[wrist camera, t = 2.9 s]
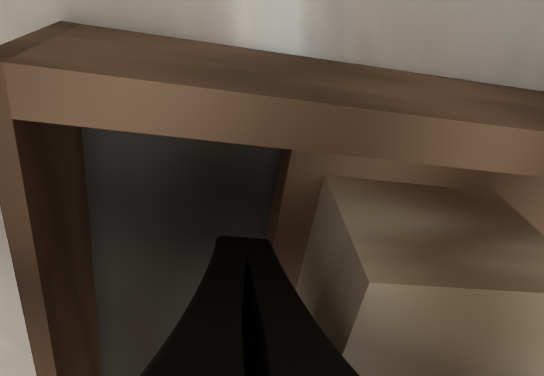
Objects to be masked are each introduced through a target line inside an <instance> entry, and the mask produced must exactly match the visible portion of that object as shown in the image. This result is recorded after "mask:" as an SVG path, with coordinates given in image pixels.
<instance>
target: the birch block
mask: <svg viewBox="0 0 544 376" xmlns="http://www.w3.org/2000/svg"><path fill="white" fill-rule="evenodd" d="M296 291H297V293H298V295H299V296H300V298H301V300H302V301H303V303H304V304H305V306H306V307H307V309H308V310H309V312H310V313H311V315H312V316H313V318H314V319H315V320H316V322H317V323H318V325H319V326H320V328H321V329H322V330H323V332H324V333H325V334H326V336H327V337H328V338H329V340H330V341H331V342H332V343H333V345H334V346H335V347H336V348H337V350H338V351H339V352H340V353H341V355H342V356H343V357H344V358H345V359H346V361H347V362H348V363H349V364H350V365H351V366H352V367H353V369H354V370H355V371H356V372H357V373H358V374H359V375H360V376H544V235H542V234H541V233H540V232H539V231H538V230H537V229H536V228H535V227H534V226H533V225H532V224H530V223H529V222H528V221H527V220H526V219H525V218H524V217H523V216H522V215H521V214H519V213H518V212H517V211H516V210H515V209H514V208H513V207H512V206H511V205H510V204H509V203H507V202H506V201H505V200H504V199H503V198H502V197H501V196H500V195H499V194H498V193H496V192H491V191H481V190H471V189H461V188H451V187H441V186H431V185H421V184H411V183H402V182H392V181H382V180H372V179H362V178H352V177H342V176H332V175H325V176H324V180H323V184H322V188H321V192H320V196H319V200H318V204H317V208H316V212H315V216H314V220H313V224H312V228H311V232H310V236H309V240H308V244H307V248H306V252H305V256H304V260H303V263H302V267H301V271H300V275H299V279H298V283H297V287H296Z"/></svg>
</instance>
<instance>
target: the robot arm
mask: <svg viewBox="0 0 544 376" xmlns="http://www.w3.org/2000/svg"><path fill="white" fill-rule="evenodd" d="M140 376H360V375H359V374H358V373H357V372H356V371H355V370H354V369H353V367H352V366H351V365H350V364H349V363H348V362H347V361H346V359H345V358H344V357H343V356H342V355H341V353H340V352H339V351H338V350H337V348H336V347H335V346H334V345H333V343H332V342H331V341H330V340H329V338H328V337H327V336H326V334H325V333H324V332H323V330H322V329H321V328H320V326H319V325H318V323H317V322H316V320H315V319H314V318H313V316H312V315H311V313H310V312H309V310H308V309H307V307H306V306H305V304H304V303H303V301H302V300H301V298H300V296H299V295H298V293H297V291H296V290H295V288H294V287H293V285H292V283H291V282H290V280H289V278H288V276H287V275H286V273H285V271H284V269H283V267H282V265H281V263H280V262H279V260H278V258H277V256H276V254H275V251H274V249H273V247H272V245H271V243H270V242H269V240H268V239H260V238H247V237H234V236H219V237H218V238H216V242H215V247H214V251H213V254H212V257H211V260H210V263H209V265H208V267H207V270H206V272H205V274H204V276H203V278H202V280H201V282H200V284H199V287H198V289H197V291H196V292H195V294H194V296H193V298H192V300H191V301H190V303H189V305H188V306H187V308H186V310H185V312H184V313H183V315H182V317H181V318H180V320H179V322H178V323H177V325H176V326H175V328H174V329H173V331H172V332H171V334H170V335H169V337H168V338H167V340H166V341H165V343H164V344H163V345H162V347H161V348H160V350H159V351H158V352H157V354H156V355H155V357H154V358H153V359H152V360H151V362H150V363H149V364H148V366H147V367H146V368H145V369H144V371H143V372H142V373H141V375H140Z"/></svg>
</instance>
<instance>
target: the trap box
mask: <svg viewBox="0 0 544 376" xmlns="http://www.w3.org/2000/svg"><path fill="white" fill-rule="evenodd" d="M325 175H332V176H342V177H352V178H362V179H372V180H382V181H392V182H402V183H411V184H421V185H431V186H441V187H451V188H461V189H471V190H481V191H491V192H496V193H498V194H499V195H500V196H501V197H502V198H503V199H504V200H505V201H506V202H507V203H509V204H510V205H511V206H512V207H513V208H514V209H515V210H516V211H517V212H518V213H519V214H521V215H522V216H523V217H524V218H525V219H526V220H527V221H528V222H529V223H530V224H532V225H533V226H534V227H535V228H536V229H537V230H538V231H539V232H540V233H541V234H542V235H544V92H542V91H535V90H528V89H521V88H514V87H508V86H501V85H494V84H487V83H480V82H473V81H466V80H460V79H453V78H446V77H439V76H432V75H425V74H418V73H411V72H405V71H398V70H391V69H384V68H377V67H370V66H363V65H357V64H350V63H343V62H336V61H329V60H322V59H315V58H309V57H302V56H295V55H288V54H281V53H274V52H267V51H261V50H254V49H247V48H240V47H233V46H226V45H219V44H213V43H206V42H199V41H192V40H185V39H178V38H171V37H164V36H158V35H151V34H144V33H137V32H130V31H123V30H116V29H110V28H103V27H96V26H89V25H82V24H75V23H68V22H62V21H60V22H57V23H54V24H52V25H49V26H47V27H44V28H42V29H39V30H37V31H34V32H32V33H29V34H27V35H24V36H22V37H19V38H17V39H14V40H12V41H9V42H7V43H4V44H2V45H0V206H1V211H2V215H3V220H4V225H5V229H6V234H7V239H8V243H9V248H10V253H11V257H12V262H13V267H14V272H15V276H16V281H17V286H18V290H19V295H20V300H21V304H22V309H23V314H24V318H25V323H26V328H27V332H28V337H29V342H30V347H31V351H32V356H33V361H34V365H35V370H36V375H37V376H140V375H141V373H142V372H143V371H144V369H145V368H146V367H147V366H148V364H149V363H150V362H151V360H152V359H153V358H154V357H155V355H156V354H157V352H158V351H159V350H160V348H161V347H162V345H163V344H164V343H165V341H166V340H167V338H168V337H169V335H170V334H171V332H172V331H173V329H174V328H175V326H176V325H177V323H178V322H179V320H180V318H181V317H182V315H183V313H184V312H185V310H186V308H187V306H188V305H189V303H190V301H191V300H192V298H193V296H194V294H195V292H196V291H197V289H198V287H199V284H200V282H201V280H202V278H203V276H204V274H205V272H206V270H207V267H208V265H209V263H210V260H211V257H212V254H213V251H214V247H215V242H216V238H218V237H219V236H234V237H247V238H260V239H268V240H269V242H270V243H271V245H272V247H273V249H274V251H275V254H276V256H277V258H278V260H279V262H280V263H281V265H282V267H283V269H284V271H285V273H286V275H287V276H288V278H289V280H290V282H291V283H292V285H293V287H294V288H295V290H296V287H297V283H298V279H299V275H300V271H301V267H302V263H303V260H304V256H305V252H306V248H307V244H308V240H309V236H310V232H311V228H312V224H313V220H314V216H315V212H316V208H317V204H318V200H319V196H320V192H321V188H322V184H323V180H324V176H325Z"/></svg>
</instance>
